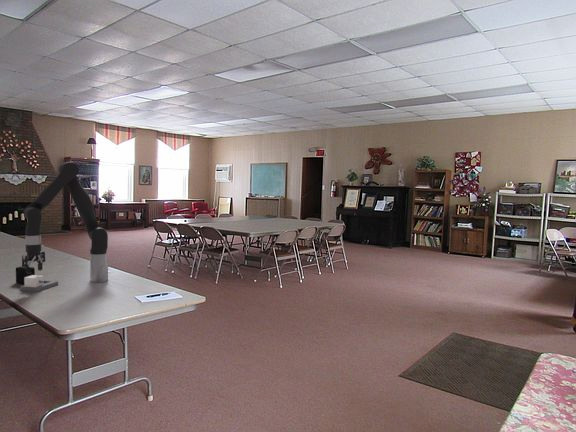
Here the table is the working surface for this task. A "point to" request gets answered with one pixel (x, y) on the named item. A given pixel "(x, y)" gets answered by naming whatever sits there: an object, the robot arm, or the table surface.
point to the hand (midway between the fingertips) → (34, 271)
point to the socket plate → (46, 285)
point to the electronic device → (23, 274)
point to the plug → (33, 281)
